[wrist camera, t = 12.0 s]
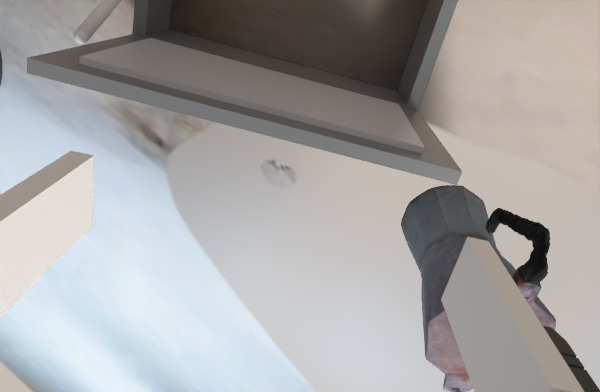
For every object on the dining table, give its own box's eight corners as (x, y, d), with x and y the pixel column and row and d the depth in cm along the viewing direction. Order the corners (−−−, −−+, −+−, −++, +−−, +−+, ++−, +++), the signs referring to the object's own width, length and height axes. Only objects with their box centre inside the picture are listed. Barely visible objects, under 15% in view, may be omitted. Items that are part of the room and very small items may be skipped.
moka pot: (377, 267, 51) (403, 419, 33) (423, 139, 45) (487, 241, 27) (458, 286, 52) (528, 447, 34) (516, 162, 45) (640, 277, 27)
